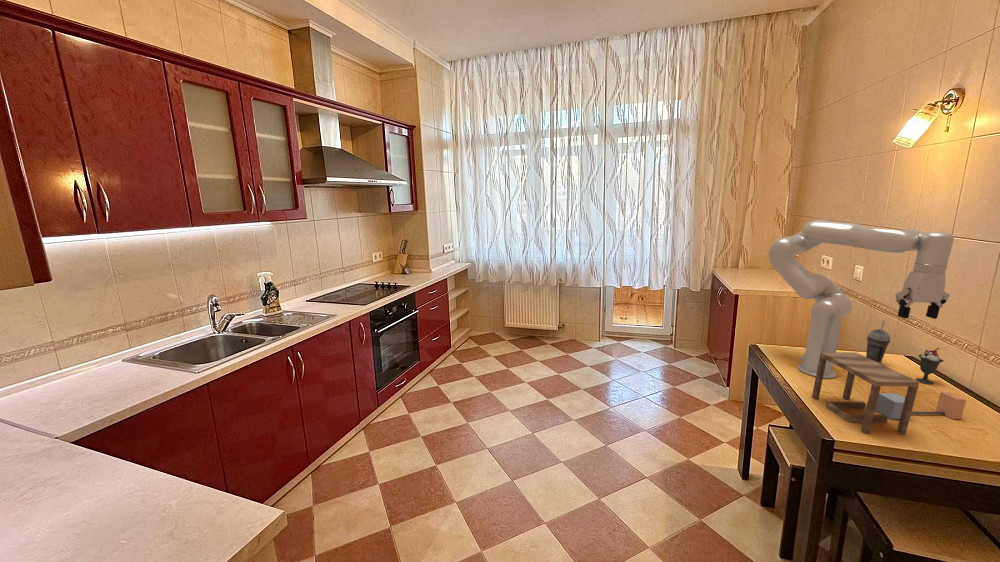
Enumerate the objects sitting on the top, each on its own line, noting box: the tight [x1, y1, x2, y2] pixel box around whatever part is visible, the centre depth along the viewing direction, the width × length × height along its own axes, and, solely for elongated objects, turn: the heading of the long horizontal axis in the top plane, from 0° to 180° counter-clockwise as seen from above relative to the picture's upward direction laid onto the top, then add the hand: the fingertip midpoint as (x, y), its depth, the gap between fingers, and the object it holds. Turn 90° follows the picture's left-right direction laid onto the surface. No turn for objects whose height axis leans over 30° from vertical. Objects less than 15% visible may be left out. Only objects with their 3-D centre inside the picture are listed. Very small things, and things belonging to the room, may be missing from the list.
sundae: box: [915, 347, 944, 386], centre depth 155 cm, size 7×7×15 cm
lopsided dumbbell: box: [875, 391, 967, 420], centre depth 133 cm, size 6×23×7 cm, turn 89°
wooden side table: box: [811, 351, 920, 435], centre depth 132 cm, size 22×13×18 cm, turn 179°
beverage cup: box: [865, 320, 891, 364], centre depth 170 cm, size 7×7×20 cm
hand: (916, 317), depth 139 cm, fingers open, 9 cm apart
